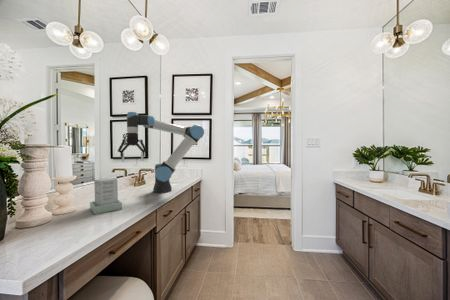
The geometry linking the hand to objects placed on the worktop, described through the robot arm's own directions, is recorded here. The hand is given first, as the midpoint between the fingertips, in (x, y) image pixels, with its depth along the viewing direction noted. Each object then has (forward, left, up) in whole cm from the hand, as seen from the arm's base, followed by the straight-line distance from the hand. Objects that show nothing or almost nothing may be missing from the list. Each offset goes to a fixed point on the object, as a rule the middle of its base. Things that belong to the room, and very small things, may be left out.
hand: (132, 161), depth 150 cm
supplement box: (+22, +22, -26) cm, 40 cm away
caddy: (+22, +22, -27) cm, 41 cm away
